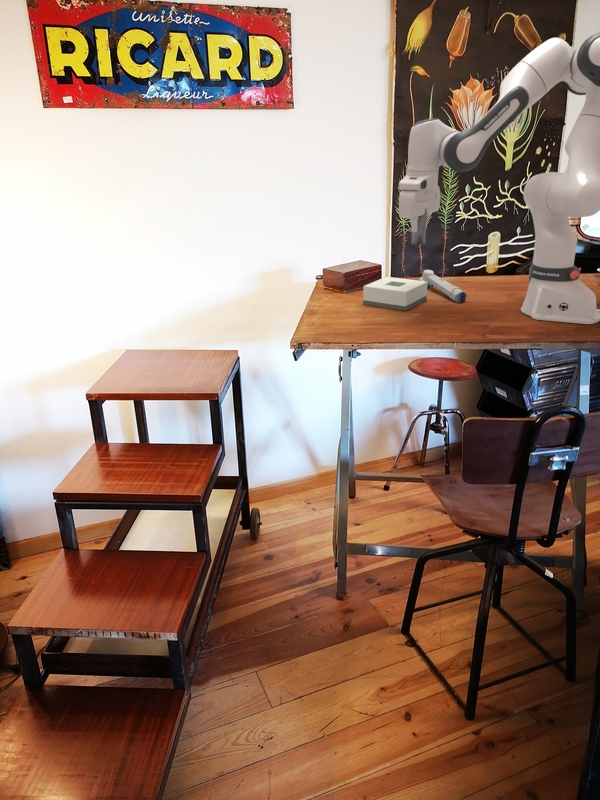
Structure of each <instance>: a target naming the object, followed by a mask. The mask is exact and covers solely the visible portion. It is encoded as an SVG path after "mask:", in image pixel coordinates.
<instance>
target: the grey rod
mask: <svg viewBox="0 0 600 800" xmlns="http://www.w3.org/2000/svg"><path fill="white" fill-rule="evenodd" d="M419 281H426V282H427V290H432V289H435V288H437V289H438V290H439V291H441V292H442V293H444V294H445V295H446V296H447V297H449V298H450V300H451V301H454V302H455V303H457V304H461V303H464V302H466V301H467V298H468V297H467V293H466V292H464V290H462V289H461V288H460V286H459V287H457V286H455V285H453V284H451V283H450V282H448V281H446V280H445V279H443V278H442V277H439V276H437V275H436V274H435V272H434V271H433V270H431V269H424V270H423V272H422V276H421V277H419Z"/></svg>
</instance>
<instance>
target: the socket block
mask: <svg viewBox="0 0 600 800" xmlns="http://www.w3.org/2000/svg"><path fill="white" fill-rule="evenodd" d="M362 290H363V292H362V293H363V294H362V295H363V296H362V297H363V298H362V299H363V300H362V302H363V303H362V304H363V305H364V306H369V307H375V306H376V307H377V308H382V309H388V308H390V310H394V309H397V311H401V310H404V311H403V312H406V311H409V310H410V309H412V308H414V307H415V306H418V305H419V304H421V303H423V302H426V301H427V297H428V296H427V295H428V293H427V291H428V289H427V282H426V281H420V280H416V279H409V278H408V279H407V278H399V277H392V276H385V277H382V278H380V279H378V280H375V281H373V282H372V281H371V282H370V283H368V284H365V285H363V289H362ZM376 307H375V308H376Z"/></svg>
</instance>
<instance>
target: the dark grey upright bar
mask: <svg viewBox="0 0 600 800" xmlns="http://www.w3.org/2000/svg"><path fill="white" fill-rule="evenodd" d="M417 221H418V226H419V231H418V232H411V245H425V244H426V236H427V235H426V234H427V232H426V231H427V228H426V221H427V209H425V213H424V215H421V216H419V217H418V220H417Z"/></svg>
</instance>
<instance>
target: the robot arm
mask: <svg viewBox="0 0 600 800" xmlns="http://www.w3.org/2000/svg"><path fill="white" fill-rule="evenodd" d="M557 84H558V85H559V86H561V87H563V88H565V89H566V90H567V91H568V92H570V93H571V94H574V95H576V96H585V101H584V103H583V107H582V109H581V110H580V113H579V115H578V116H577V119H576V121H575V123H574V124H573V127H572V129H571V131H570V133H569V135H568V137H567V139H566V141H565V143H564V151H565V153H566V155H567V156H568V161H567V165H566V169H565V170H564V172H556V171H548V172H541V173H538V174H535V175H533V176H532V177H530V178H529V179H528V180H527V182H526V184H525V185H524V189H523V200H524V203H525V204H526V206H527V207H528V209H529V210H530V213H531V217H532V220H533V221H532V222H533V227H534V237H535V238H534V250H533V257H532V262H531V264H530V268H529V272H528V273H529V274H528V288H527V291H526V294H525V298H524V301H523V304H522V306H521V307H520V311H521V313H523V314H525V315H528V316H530V317H531V318H532V319H534V320H539V321H540V320H541V321H548V322H549V321H550V322H559V323H561V322H562V323H571V324H581V325H583V324H584V325H593V324H597V323H599V322H600V308H597V298H596V294H595V292H593V291H592V289H590V288H589V287H588V286H586V285H587V284H586V285H585V283H583V282H582V281H581V280H580V274H581V269H582V268H581V267H579V268H578V267H577V266H576V265H575V257H576V253H577V245H578V236H577V234H576V233H575V232H574V230H573V228H572V226H571V223H570V218H575V219H576V218H587V217H593V216H594V215H595V214H598V212H600V31H599V32H596V33H594V34H593V35H592V34H591V36H589V37H588V38H586V39H585V40H584V41H583V42H582V44H581V45H580V46H579V47H578V48H577V47H572V46H570V44H569V43H568V42H567V41H565V40H564V39H562V38H560V37H552V38H549V39H547V40H545V41H544V42H542V43H540V45H538V46H537V47H536V48H534V49H533V50H532V51H530V52H529V53H528V54H527V55H525V56H524V57H523V58H522V59H521V60H520V61H518V63H516V65H515V66H514V67H512V69H511V70H510V71H509V72H508V74H507V75H506V76H505V77H504V78H503V80H502V81H501V83H500V86H499V97H498V100H497V102H496V103H495V104H494V105H493V106H492V107H491V108H490V109H489V110H488V111H487V112H486V113H485V114H484V115H483V116H482V117H481V118H480V119H479V120H478V121H477V122H476V123H475V124H474V125H473V126H471V127H470V128H468V129H465V130H462V131H460V130H458V129H454V128H453V127H450V126H448V125H446V124H445V123H444V122H443V121H441V120H440V119H439V118H437V117H435V118H434V117H433V118H428V119H423V120H419V121H417V122H415V123H414V124H413V125H412V126H411V129H410V133H409V138H408V149H407V156H408V165H407V169H406V175H404V177H403V178H402V179H401V180H400V181H399V182H398V190H400V192H399V199H398V214H399V217H400V218H401V219H409V222H410V226H411V227H410V230H411V233H412V232H418V231H419V226H418V221H417V220H418V217H419V216H421V215H424V213H425V209H427V221H426V229H427V228H428V222H429V220H430V217H431V216H430V215H431V214H432V213H435V212H439V210H440V207H441V205H440V204H441V188H440V186H439V185H438V183H439V168H440V167H441V166H444V167H446V168H449V169H451V170H453V171H454V172H457V173H466V172H470V171H471V170H473V169H475V168H476V167H477V166H478V165H479V164H480V162H481V161H482V159H483V157H484V155H485V153H486V151H487V150H488V147H489V146H490V145H491V144H492V142H494V141H495V139H496V138H497V137H498V136H499V135H500V134H501V133H503V131H504V130H505V129H507V127H509V125H510V124H511V123H512V122H513V121H515V119H516V118H517V117H519V116H520V115H521V114H523V113H524V112H525V111H526V110H528V109H530V108H531V107H532V106H533V105H535V104H536V103H537V102H538V101H539V100H540V99H542V98H543V97H544V96H545V95H546V94H547V93H548V92H549V91H550V90H551V89H552V88H554V87H555V86H556V85H557Z"/></svg>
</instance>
